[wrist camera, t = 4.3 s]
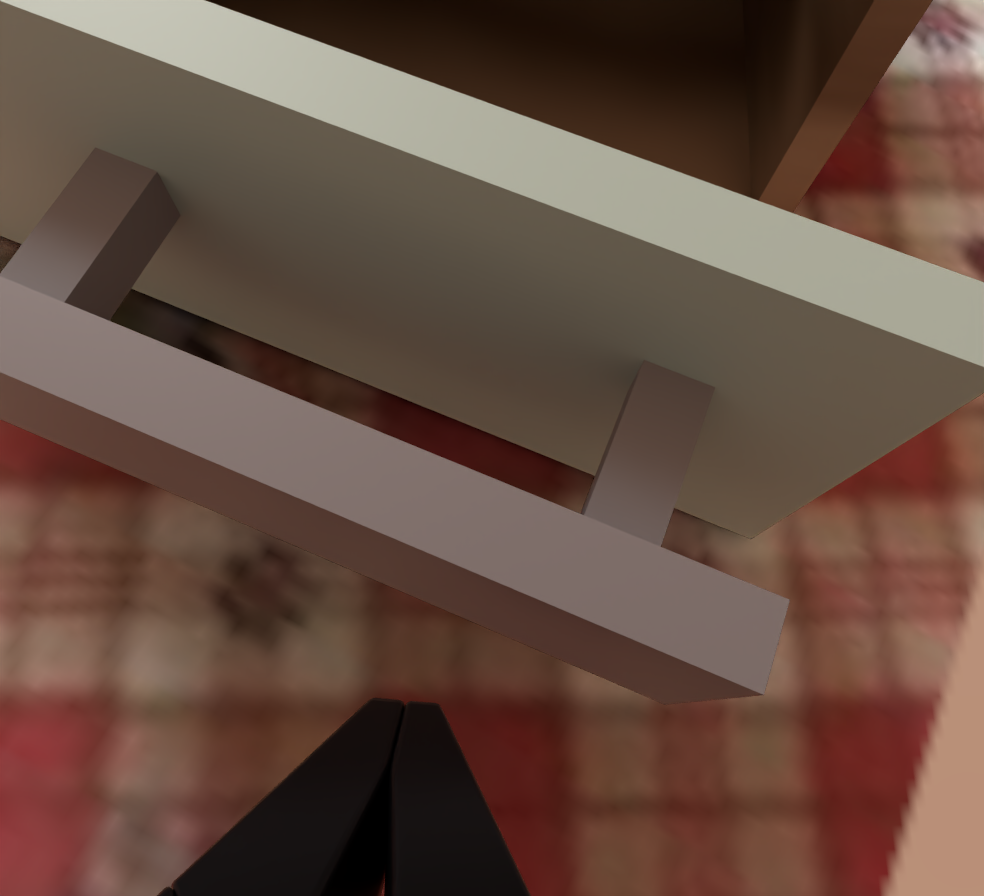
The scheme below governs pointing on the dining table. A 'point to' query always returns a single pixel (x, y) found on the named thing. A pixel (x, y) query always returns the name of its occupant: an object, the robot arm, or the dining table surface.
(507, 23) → the cabinet
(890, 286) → the cabinet door
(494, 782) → the dining table surface
